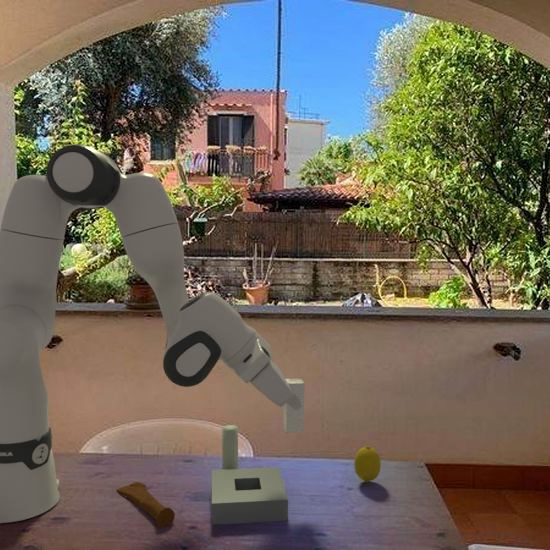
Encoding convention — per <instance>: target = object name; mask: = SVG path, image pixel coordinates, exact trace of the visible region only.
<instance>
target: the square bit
mask: <svg viewBox="0 0 550 550" xmlns="http://www.w3.org/2000/svg"><path fill="white" fill-rule="evenodd" d="M285 379H286V381H287V383H288V385H289V387H290V388H291V390H292V392H293V395H294V396H295V397H296V398H297V399H298V400H299V401H300V402H301V404H302V406H301V407H300V408H299V409H298V410H294V409H293V408H292V407H291V406H290V405H289V404H287V403H286V404H285V405H284V406H283V429H284V431H285V433H287V434H294V433H295V434H298V433H300V434H303V433H304V421H305V412H304V411H305V382H304V380H303V379H302V378H285Z"/></svg>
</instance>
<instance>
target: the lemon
mask: <svg viewBox="0 0 550 550" xmlns="http://www.w3.org/2000/svg"><path fill="white" fill-rule="evenodd" d="M354 457H355V458H354V464H353V465H354V471H355V473H356V475H357V476H358V478H360V479H361V480H362V481H364V482H365V483H370V482H371V481H374V480H375V479H376V478H377V477H379V475H380V472H381V465H382V464H381V457H380V455H379V453H378V451H376V449H374V448H373V447H371V446H370V445H366V446H363V447H361V448H360V449H358V451H357V452H356V454H355V456H354Z"/></svg>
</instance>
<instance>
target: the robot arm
mask: <svg viewBox="0 0 550 550" xmlns="http://www.w3.org/2000/svg"><path fill="white" fill-rule="evenodd" d="M104 208H105V209H107V210H108V211H110V213H111V214H112V215H113V217H114V219H115V222H116V225H117V227H118V230H119V235H120V238H121V242H122V245H123V247H124V250H125V252H126V255H127V256H128V257H127V258H128V259H129V261H130V264H131V265H132V267H133V268H134V270H135V272H136V273H137V274H138V275H139V276H140V277H141V278H142V279H143V280H145V281H146V283H148V285H149V286H150V288H151V289H152V291H153V292H154V294H155V296H156V299H157V302H158V305H159V308H160V309H159V310H160V311H161V314H162V318H163V321H164V325H165V327H166V328H165V329H166V343H165V350H164V354H163V358H162V359H163V360H162V366H163V371H164V374H165V375H166V378H167V379H169V380H170V382H171V383H173V384H175V385H177V386H179V387H183V388H184V387H185V388H190V387H195V386H196V385H199V384H201V383H202V382H204V381H205V380H206V379H207V377H209V375H210V373H211V372H212V371H213V369H214V367H215V366H216V364H217V363H218V361H219V360H221V361H222V362H223V363H224V364H225V366H227V367H228V368H229V369H230V370H231V371H232V372H233V373H234V374H235V375H236V376H237V377H238V378H239V379H241V380H242V381H243V382H244V383H245V384H249V383H250V384H251V385H252V386H253V387H254V388H256V389H257V390H258V392H260V393H261V394H262V395H264V397H265V398H267V399H268V400H269V401H270V402H271V403H273V404H274V405H276V406H278V407H281V408H282V407H284V405H285V404H286V403H287V404H289V405H290V406H291V407H292V408H293V409H294V410H298V409H299V408H300V407H301V406H302V404H301V402H300V401H299V400H298V399H297V398H296V397H295V396H294V395H293V392H292V390H291V388H290V387H289V385H288V383H287V381H286V379H287V378H286V377H285V376H284V374H283V372H282V370H281V368H280V367H279V366H278V365H277V364H276V363H275V362H274V361H273V360H272V359H273V356H272V355H271V348H272V347H271V344H270V343H269V342H267V340H266V339H265V338H264V337H262V336H261V334H260V333H258V332H257V330H256V329H254V328H253V327H252V326H250V325H248V324H247V323H246V322H245V321H244V320H243V317H242V316H241V314H240V313H239V312H238V311H237V310H236V309H235V308H234V307H233V306H232V305H230V304H229V303H228V302H227V301H226V300H225V299H224V298H222V297H221V296H220V295H219V294H217V293H215V292H213V291H205V292H204V291H203V292H201V293H200V294H199V293H198V294H197V295H196V296H194V297H192V298H191V299H190V297H189V295H188V291H187V288H186V283H185V281H186V280H185V250H184V243H183V239H182V238H183V237H182V232H181V229H180V225H179V222H178V219H177V218H178V217H177V215H176V212H175V210H174V207H173V204H172V203H171V200H170V197H169V195H168V194H167V191H166V189H165V186H164V185H163V183H162V182H161V180H160V179H159V178H158V177H157V176H155V174H151V173H149V172H148V173H146V172H136V173H130V174H124V172H123V171H122V169H121V167H120V166H119V164H118V163H116V162H115V161H114V160H113V159H112V158H111V157H110V156H109V155H108V154H106V153H105V152H103V151H100V150H98V149H95V148H94V147H91V146H88V145H85V144H79V143H77V144H75V143H74V144H68V145H65V146H63V147H61V148H59V149H57V150H56V151H55V152H54V153H52V155H51V157H50V158H49V160H48V162H47V165H46V175H41V174H29V175H24V176H22V177H20V178H18V179H17V180H16V181H15V182H14V183H13V186H12V188H11V191H10V193H9V195H8V198H7V202H6V204H5V208H4V211H3V215H2V219H1V220H2V221H1V224H0V524H3V523H4V524H8V523H13V522H15V523H16V522H19V521H25V520H27V519H31V518H34V517H37V516H39V515H42V514H44V513H46V512H47V511H49V510H51V509H52V508H53V507H54V506H56V505H57V504H58V502H59V500H60V496H61V494H60V492H59V488H60V479H58V478H57V474H56V473H57V472H56V466H55V465H56V464H55V459H54V453H53V452H54V451H53V450H52V448H53V433H52V428H51V427H50V419H49V418H50V417H49V415H50V414H49V413H50V412H49V389H48V387H47V385H45V384H46V383H45V381H44V377H43V372H42V368H41V367H42V366H41V359H40V356H41V352H42V350H43V349H45V348H47V346H48V345H49V344H50V342H51V341H52V338H53V335H54V332H55V327H56V322H55V319H56V308H57V306H56V305H57V284H58V283H57V282H58V281H57V280H58V275H59V269H60V264H61V263H60V262H61V257H62V252H63V246H64V241H65V240H64V239H65V234H66V228H67V223H68V221H69V218H70V216H71V215H72V213H73V212H74V211H88V210H100V209H104Z"/></svg>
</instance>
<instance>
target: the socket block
mask: <svg viewBox="0 0 550 550" xmlns="http://www.w3.org/2000/svg"><path fill="white" fill-rule="evenodd" d="M284 521H285V522H286V521H289V498H288V495H287V491H286V488H285V485H284V481H283V477H282V474H281V470H280V467H279V466H272V467H269V466H268V467H252V468H250V467H249V468H248V467H247V468H238V469H222V468H221V469H212V470H211V526H212V525H214V526H215V525H231V524H233V525H234V524H250V523H265V522H267V523H268V522H269V523H270V522H284Z"/></svg>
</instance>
